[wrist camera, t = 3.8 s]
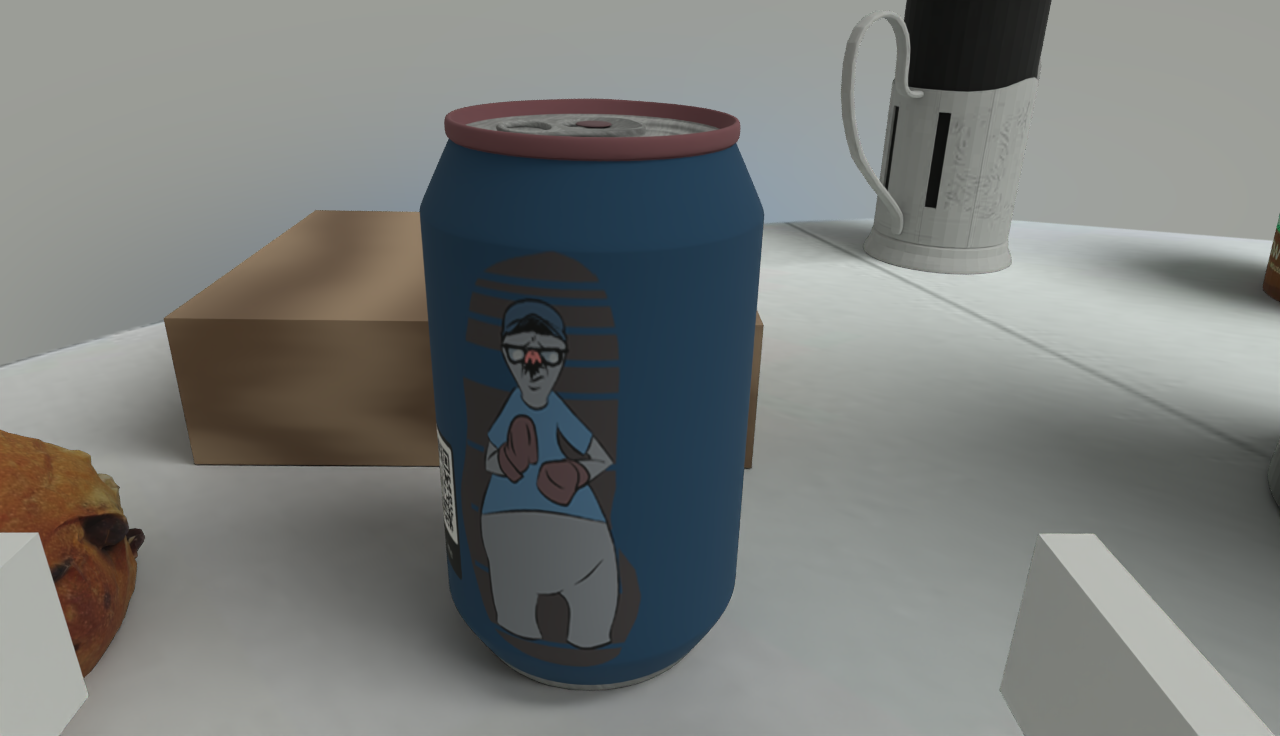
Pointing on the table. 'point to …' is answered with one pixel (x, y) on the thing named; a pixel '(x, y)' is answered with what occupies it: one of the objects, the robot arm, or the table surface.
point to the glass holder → (951, 130)
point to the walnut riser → (322, 350)
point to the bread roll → (72, 535)
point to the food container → (1273, 268)
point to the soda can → (591, 377)
